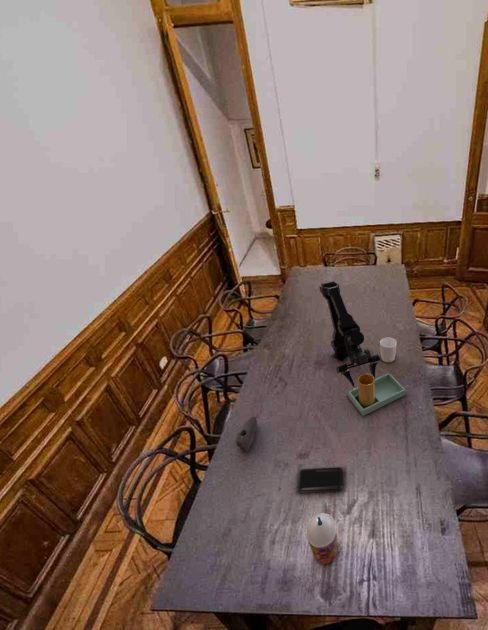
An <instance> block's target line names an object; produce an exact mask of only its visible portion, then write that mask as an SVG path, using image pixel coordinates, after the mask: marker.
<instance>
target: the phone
mask: <svg viewBox="0 0 488 630" xmlns="http://www.w3.org/2000/svg"><path fill="white" fill-rule="evenodd" d="M343 488H344V469H343V468H342V467H340V466H339V467H317V468H302V469H300V471H299V475H298V485H297V490H298V492H299V493H300V494H301V493H324V492H325V493H326V492H341V491H342V490H343Z"/></svg>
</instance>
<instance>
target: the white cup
mask: <svg viewBox="0 0 488 630" xmlns="http://www.w3.org/2000/svg"><path fill="white" fill-rule="evenodd" d="M379 349H380V351H379V352H380V359H381V361H383V362H384V363H392V362H393V361H395V359H396V353H397V339H395V338H393V337H390V336H389V337H387V336H386V337H383V338H381V339H380V341H379Z"/></svg>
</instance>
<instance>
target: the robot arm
mask: <svg viewBox="0 0 488 630" xmlns="http://www.w3.org/2000/svg"><path fill="white" fill-rule="evenodd" d="M318 289H319V292H320V294H321V295H322V297H323V299H325V300H326V301H327V306H328V310H329V314H330V319H331V323H332V326H333V332H332V336H331V337H332V340H330V346H331V348H332V349H333V352H334V354H333V355H332V357H333V358H335V359H337V360H339V361H341V362H343V361H345V360H346V359H347V358H348V357H349V362H350V364H349V363H344V364H341V365H338V366H336V367H335V371H336V374H340V375H343V376H344V377H345V378H346V379H347V381H348V382H349V384H350V385H351V386H352V387H353V388H356V387H355V383H354V380H353V378H352V375H351V370H350V369H354V368H357V367H361V366H363V365H366V364H367V365H368V368H369V371H370V374H371V375H372V376H373V377H374V379H376V368H377V364H378V365H379V362H380V361H382V359H381V355H379V354H375V355H372V353H371V351H370V349H364V351H363V349H362V347H361V345H363V343H364V341H365V336H364V333H362V331H361V327H360V325H359V324H358V323H357V322H356V320H354V317H353V315H352V314H350V313H349V312H348V310H347V308H346V304H345V303H344V300H343V297H342V294H341V288H340V284H339V282H337V281H336V282H335V280H329V281H325V282H321V283H320V285H319V287H318Z"/></svg>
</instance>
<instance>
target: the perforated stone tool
mask: <svg viewBox="0 0 488 630" xmlns="http://www.w3.org/2000/svg"><path fill="white" fill-rule="evenodd" d="M257 426H258V420H257V417H255V416H252V417H250V418H249V419H248V420H246V421H245V422H244V424H243V426H242V427H241V429H240V431H239V432H238V433H237V436H236V438H235V443H236V447H237V448H239V450H240V451H242V452H244V453H248V452H249V450H250V448H251V446H252V444H253V442H254V439H255V435H256V433H257V432H256V431H257V428H258V427H257Z"/></svg>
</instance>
